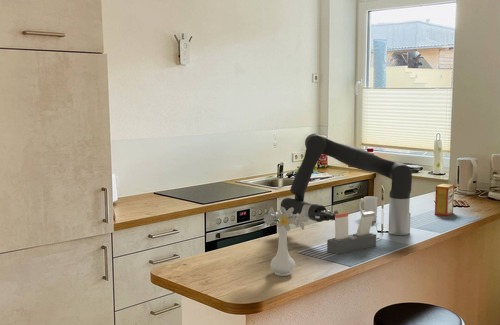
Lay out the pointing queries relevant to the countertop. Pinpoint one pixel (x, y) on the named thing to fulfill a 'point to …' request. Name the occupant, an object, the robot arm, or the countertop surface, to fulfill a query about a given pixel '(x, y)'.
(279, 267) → the flower vase
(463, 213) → the countertop surface
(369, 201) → the mug
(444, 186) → the baking soda box
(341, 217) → the panel
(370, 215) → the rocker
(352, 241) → the gray rectangular block
